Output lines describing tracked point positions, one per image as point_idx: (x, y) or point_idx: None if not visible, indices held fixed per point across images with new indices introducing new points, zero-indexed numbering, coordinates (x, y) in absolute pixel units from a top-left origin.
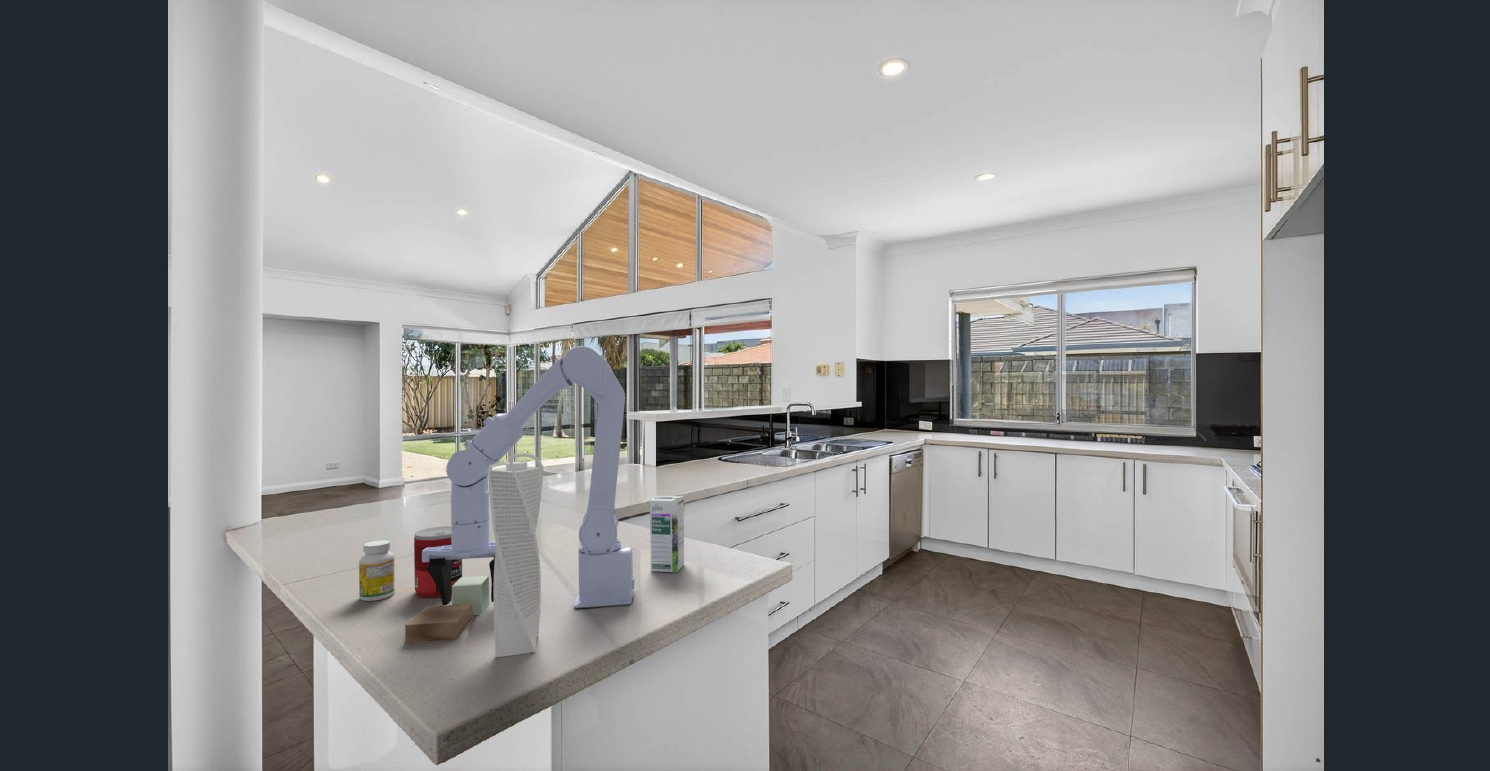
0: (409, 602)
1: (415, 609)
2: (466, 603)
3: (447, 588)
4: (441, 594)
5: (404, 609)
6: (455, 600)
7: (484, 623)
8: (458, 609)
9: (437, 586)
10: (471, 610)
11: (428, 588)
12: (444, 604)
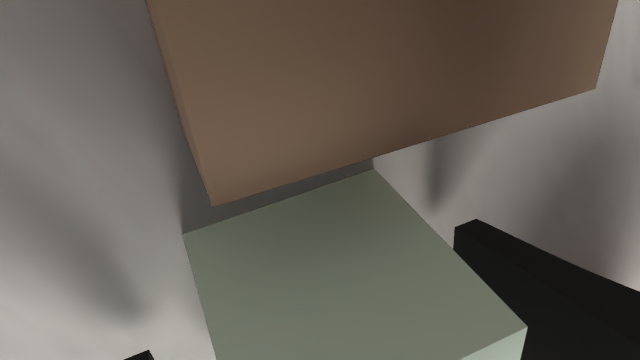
0: (608, 262)
1: (578, 209)
2: (319, 255)
3: (533, 326)
4: (543, 259)
5: (619, 199)
6: (414, 243)
7: (6, 80)
8: (286, 43)
9: (630, 291)
10: (194, 153)
11: None
12: (471, 225)
